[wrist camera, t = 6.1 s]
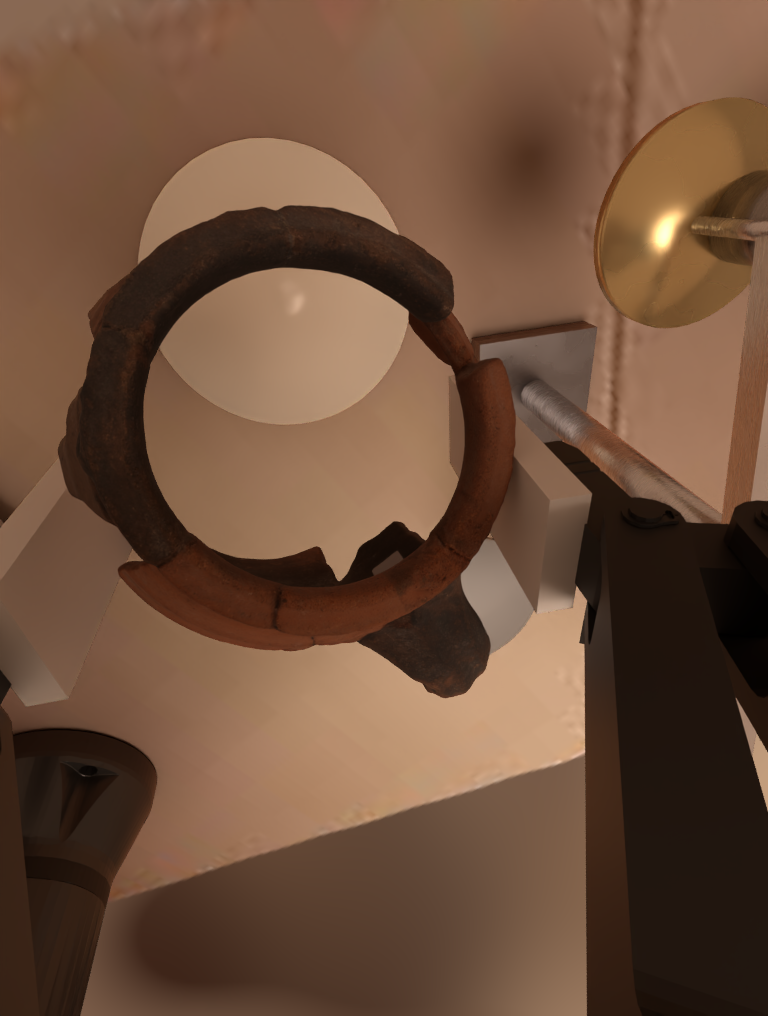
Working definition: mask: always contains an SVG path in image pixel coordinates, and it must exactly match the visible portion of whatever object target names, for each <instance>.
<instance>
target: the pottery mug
mask: <svg viewBox="0 0 768 1016" xmlns="http://www.w3.org/2000/svg"><path fill="white" fill-rule="evenodd" d="M275 268H298V269H311V270H322V271H327V272H331V273H337V274H342V275H345V276H348V277H351V278H354V279H356V280H359V281H362V282H364V283H366V284H368V285H369V286H371V287H373V288H375V289H376V290H378V291H380V292H382V293H383V294H385V295H387V296H389V297H390V298H392V299H393V300H394V301H396V302H397V303H399V304H400V305H401V306H403V307H404V308H405V309H407V310H408V311H409V315H408V320H409V324H410V325H411V327H412V329H413V331H414V332H415V333H416V334H417V335H418V336H419V338H420V339H421V340H422V341H423V342H424V343H425V344H426V346H427V347H428V348H429V349H430V350H431V351H432V352H433V353H434V354H435V355H436V356H437V357H438V358H439V359H440V360H442V361H443V362H444V363H446V364H448V365H451V367H452V369H453V371H454V373H455V381H456V386H457V390H458V393H459V396H460V401H461V406H462V411H463V418H464V432H465V447H464V456H463V463H462V469H461V473H460V478H459V481H458V485H457V488H456V490H455V493H454V495H453V497H452V500H451V502H450V504H449V506H448V508H447V510H446V512H445V514H444V516H443V517H442V519H441V520H440V522H439V523H438V524H437V525H436V527H435V528H434V529H433V530H432V531H431V532H430V535H429V537H428V539H427V540H426V541H425V540H424V539H422V538H421V537H420V536H419V535H418V534H417V533H416V532H412V531H409V530H408V528H407V527H406V526H405V525H404V524H403V523H401V522H396V521H394V522H393V523H391V524H390V525H389V526H388V527H386V528H385V529H384V530H383V531H382V532H381V533H380V534H379V535H377V536H376V537H374V538H373V539H371V540H369V541H367V542H366V543H364V544H363V545H362V546H361V547H360V548H359V549H358V552H357V555H356V557H355V559H354V561H353V563H352V565H351V567H350V570H349V572H348V573H347V575H346V576H345V577H344V578H343V579H342V580H341V581H338V580H337V579H336V577H335V574H334V572H333V570H332V568H331V567H330V566H329V565H328V564H327V563H326V560H325V557H324V554H323V552H322V550H321V548H319V547H317V546H316V547H313V548H311V549H308V550H305V551H303V552H301V553H298V554H295V555H292V556H287V557H283V558H279V559H268V560H263V559H245V558H236V557H232V556H229V555H226V554H223V553H220V552H218V551H216V550H214V549H211V548H209V547H207V546H206V545H205V544H204V543H203V542H202V541H201V540H199V539H198V538H197V537H196V536H194V535H193V534H191V533H189V532H188V531H187V530H186V529H185V527H184V526H183V525H182V523H181V522H180V521H179V520H178V519H177V517H176V516H175V514H174V512H173V511H172V510H171V508H170V507H169V505H168V504H167V502H166V501H165V499H164V497H163V495H162V493H161V491H160V489H159V487H158V485H157V482H156V480H155V477H154V475H153V472H152V469H151V465H150V463H149V459H148V454H147V450H146V441H145V433H144V421H143V402H144V393H145V387H146V383H147V379H148V374H149V370H150V364H151V362H152V360H153V358H154V356H155V355H156V352H157V350H158V348H159V347H160V345H161V343H162V342H163V340H164V338H165V337H166V335H167V334H168V333H169V331H170V329H171V328H172V327H173V325H174V324H175V323H176V322H177V321H178V319H179V318H180V317H181V316H182V315H183V314H184V313H185V312H186V311H187V310H188V309H189V308H190V307H191V306H192V305H193V304H194V303H196V302H197V301H198V300H199V299H201V298H202V297H203V296H205V295H206V294H208V293H210V292H212V291H213V290H214V289H216V288H218V287H220V286H222V285H223V284H225V283H227V282H229V281H231V280H233V279H236V278H239V277H242V276H244V275H247V274H250V273H254V272H259V271H264V270H270V269H275ZM453 306H454V292H453V281H452V276H451V274H450V272H449V270H447V269H446V267H445V266H444V265H443V264H442V263H441V262H440V261H439V260H437V259H436V258H435V257H433V256H432V255H430V254H429V253H427V252H426V251H425V249H423V248H421V247H420V246H418V245H417V244H415V243H414V242H412V241H411V240H409V239H407V238H406V237H404V236H401V235H398V234H396V233H393V232H391V231H390V230H388V229H386V228H385V227H383V226H381V225H379V224H378V223H376V222H374V221H372V220H370V219H367V218H365V217H361V216H358V215H355V214H352V213H349V212H345V211H341V210H338V209H335V208H331V207H317V206H301V205H298V206H296V205H288V206H284V207H282V208H280V209H279V210H272V209H269V208H266V207H256V208H252V209H247V210H235V211H226V212H225V213H223V214H221V215H219V216H217V217H215V218H213V219H210V220H208V221H205V222H201V223H199V224H197V225H195V226H193V227H191V228H188V229H186V230H183V231H181V232H179V233H177V234H176V235H174V236H172V237H171V238H169V239H168V240H166V241H165V242H163V243H162V244H160V245H159V246H158V247H157V248H156V249H155V250H154V251H153V252H152V253H151V254H150V255H149V256H147V257H146V258H145V259H143V260H142V261H140V263H139V264H138V266H137V267H136V268H135V269H133V270H132V271H131V272H130V274H129V275H127V276H126V277H124V278H123V279H122V280H120V281H119V282H118V283H117V284H115V285H114V286H113V287H111V288H110V289H109V290H107V291H106V292H105V294H104V295H103V296H102V298H101V299H100V300H99V301H98V302H97V303H96V304H95V305H94V307H93V308H92V309H91V310H90V311H89V313H88V317H89V319H90V328H91V331H92V334H93V337H94V342H93V344H92V349H91V355H90V359H89V362H88V366H87V375H86V379H85V381H84V384H83V387H81V388H80V389H79V392H78V395H77V396H76V398H75V399H74V400H73V401H72V403H71V404H70V406H69V409H68V414H67V419H66V425H67V427H66V436H65V437H64V438H63V439H62V441H61V442H60V444H59V447H58V455H59V460H60V464H61V468H62V473H63V477H64V481H65V484H66V487H67V489H68V492H69V493H70V494H71V496H73V497H75V498H77V499H79V500H81V501H83V502H84V503H85V504H86V505H87V506H88V507H89V508H90V509H91V510H92V511H93V512H94V513H95V514H97V515H98V516H99V517H100V518H102V519H103V520H104V521H106V522H108V523H110V524H112V525H114V526H116V527H117V528H118V529H119V531H120V532H121V534H122V535H123V536H124V537H125V539H126V540H127V541H128V543H129V544H130V546H131V547H132V548H133V549H134V551H135V552H136V553H137V554H138V555H139V557H140V558H141V559H143V560H144V561H141V562H140V561H132V562H127V563H124V564H122V565H121V566H120V567H118V574H119V576H120V577H121V578H122V579H123V580H124V581H125V583H126V584H127V585H128V586H129V587H130V588H131V589H132V590H133V591H134V592H135V593H136V594H137V595H138V596H139V597H140V598H142V599H143V600H144V601H145V602H146V603H147V604H149V605H150V606H152V607H153V608H154V609H155V610H157V611H158V612H160V613H161V614H163V615H164V616H166V617H167V618H169V619H171V620H173V621H174V622H176V623H178V624H180V625H182V626H184V627H186V628H188V629H190V630H192V631H194V632H197V633H199V634H201V635H204V636H207V637H209V638H212V639H215V640H218V641H222V642H227V643H230V644H234V645H239V646H243V647H249V648H255V649H263V650H284V651H297V650H303V649H306V648H309V647H312V646H314V645H335V644H339V643H352V642H356V641H357V642H359V643H360V644H362V645H363V646H366V647H368V648H370V649H372V650H373V651H375V652H377V653H378V654H380V655H381V656H383V657H384V658H386V659H387V660H389V661H390V662H391V663H393V664H394V665H395V666H396V667H398V668H399V669H401V670H402V671H403V672H404V673H406V674H407V675H408V676H409V677H410V678H412V679H413V680H415V681H418V682H421V683H422V684H423V685H424V687H425V688H426V690H427V691H428V692H430V693H434V694H436V695H438V696H440V697H442V698H448V697H454V696H457V695H461V694H464V693H466V692H467V691H468V690H469V689H470V687H471V686H472V684H473V682H474V681H475V679H476V678H477V677H478V676H480V675H481V674H482V673H483V672H484V671H485V669H486V666H487V661H488V658H489V654H490V649H491V643H490V638H489V636H488V634H487V632H486V630H485V628H484V626H483V623H482V621H481V619H480V618H479V616H478V614H477V613H476V612H475V610H474V609H473V607H472V606H471V604H470V603H469V601H468V600H467V598H466V596H465V594H464V592H463V588H462V583H461V573H462V572H463V571H464V570H465V569H466V568H467V567H468V566H469V564H470V562H471V560H472V558H473V557H474V556H475V555H476V554H477V553H478V552H479V550H480V547H481V545H482V544H483V542H484V540H485V539H486V538H487V536H488V535H489V533H490V531H491V529H492V525H493V523H494V521H495V520H496V518H497V516H498V513H499V511H500V508H501V506H502V504H503V502H504V498H505V495H506V493H507V490H508V485H509V482H510V479H511V475H512V471H513V468H512V464H513V457H514V449H515V445H516V441H515V427H516V413H515V409H514V403H513V398H512V393H511V386H510V383H509V379H508V375H507V372H506V368H505V366H504V364H503V362H502V360H501V359H499V358H491V359H484V360H481V361H478V360H477V358H476V357H475V355H474V351H473V347H472V345H471V343H470V341H469V339H468V337H467V336H466V334H465V332H464V329H463V327H462V325H461V324H460V323H459V321H458V320H457V318H456V317H455V316H454V315H453V313H452V312H451V311H452V309H453Z"/></svg>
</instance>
